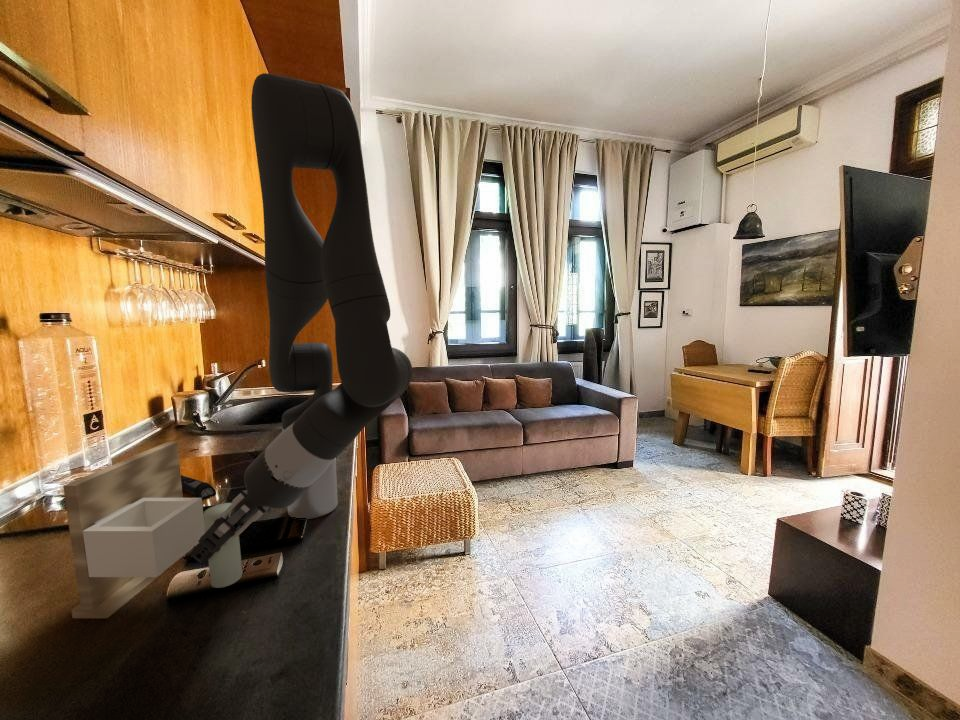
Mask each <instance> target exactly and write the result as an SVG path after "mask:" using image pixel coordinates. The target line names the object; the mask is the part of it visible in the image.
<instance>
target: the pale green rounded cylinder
mask: <svg viewBox="0 0 960 720" xmlns="http://www.w3.org/2000/svg"><path fill="white" fill-rule="evenodd" d="M231 504H232V502H223V503H220V504H219V503H218V504H216V505H213V506H211V507H208V508H207V509H205V510H204V511H203V516H204V527H205V533H206V532H207V530H208V529H209V528H210V527H211V526H212V525H213V524H214V523H215V522H214V521H215V520H216V519H217V518H218V517H219V516H220V515H221V514H222V513H223V512H224V511H225V510H226V509H227V508H228V507H229V506H230V505H231ZM230 513H231V512H230ZM230 513H229V517H230ZM237 524H238V523H237ZM226 543H227V544H226V545H225V546H224V547H223V546H222V547H221V548H220V550H219V551H218V552H215V553H214V554H213V555H212V556H211V557H210V558H209V559H208V560H207V562H208V569H209V578H210V585H211V587H212V588H216V589H217V588H218V589H220V588H225V587H228V586H231V585H233V584H235V583H236V582H238V581H239V580H240V579H241V578H242V576H243V566H242V555H241V554H242V553H241V545H240V535H238V536H237V537H234V536H233V537H231V538H230V539H229V540H228V541H227V542H226Z"/></svg>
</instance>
